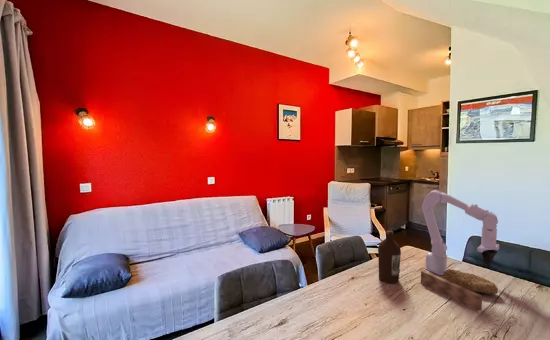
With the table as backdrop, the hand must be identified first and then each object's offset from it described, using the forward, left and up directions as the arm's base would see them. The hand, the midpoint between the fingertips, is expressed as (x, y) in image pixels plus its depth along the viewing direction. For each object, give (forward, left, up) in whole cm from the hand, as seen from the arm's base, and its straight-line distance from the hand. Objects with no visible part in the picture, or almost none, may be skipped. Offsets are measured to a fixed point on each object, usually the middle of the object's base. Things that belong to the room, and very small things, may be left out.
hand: (487, 264), depth 131 cm
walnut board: (0, -29, -9) cm, 30 cm away
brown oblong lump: (0, -13, -10) cm, 16 cm away
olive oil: (-22, -42, -10) cm, 48 cm away
